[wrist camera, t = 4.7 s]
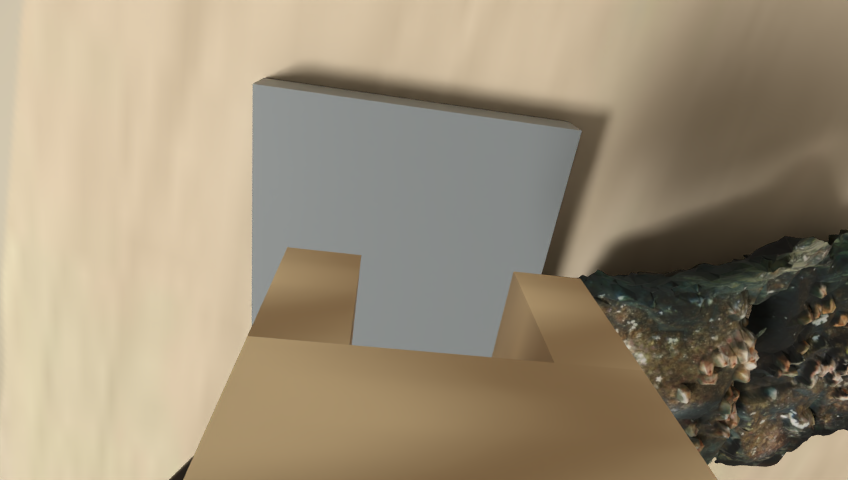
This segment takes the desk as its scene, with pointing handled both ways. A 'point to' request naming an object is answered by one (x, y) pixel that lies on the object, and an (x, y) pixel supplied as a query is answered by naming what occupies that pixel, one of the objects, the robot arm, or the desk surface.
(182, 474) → the robot arm
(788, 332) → the decorative rock
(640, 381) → the block
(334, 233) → the pin plate
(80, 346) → the desk surface
